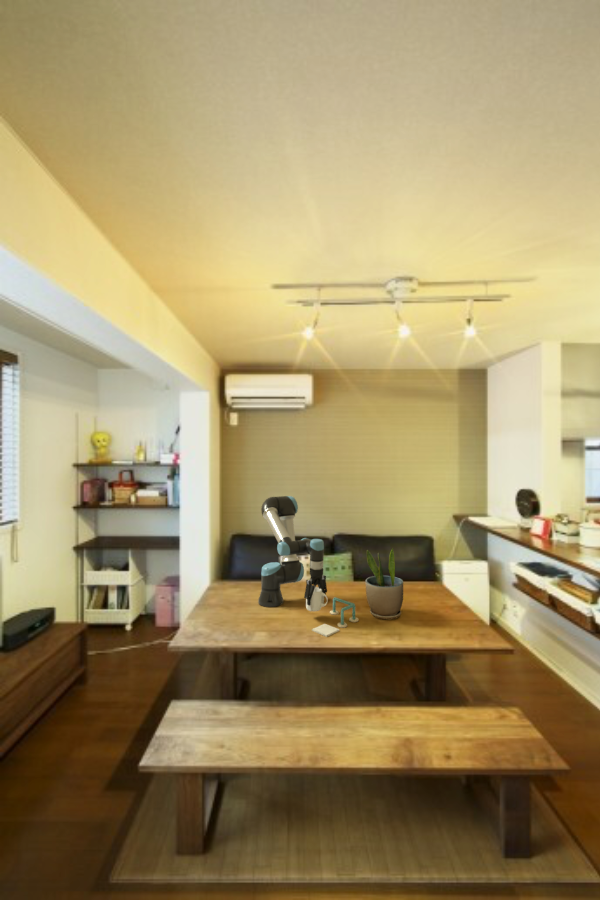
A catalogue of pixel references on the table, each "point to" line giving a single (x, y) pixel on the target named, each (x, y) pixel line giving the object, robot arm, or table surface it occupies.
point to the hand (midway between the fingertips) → (315, 608)
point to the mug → (317, 599)
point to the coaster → (325, 630)
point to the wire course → (334, 612)
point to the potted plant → (384, 590)
